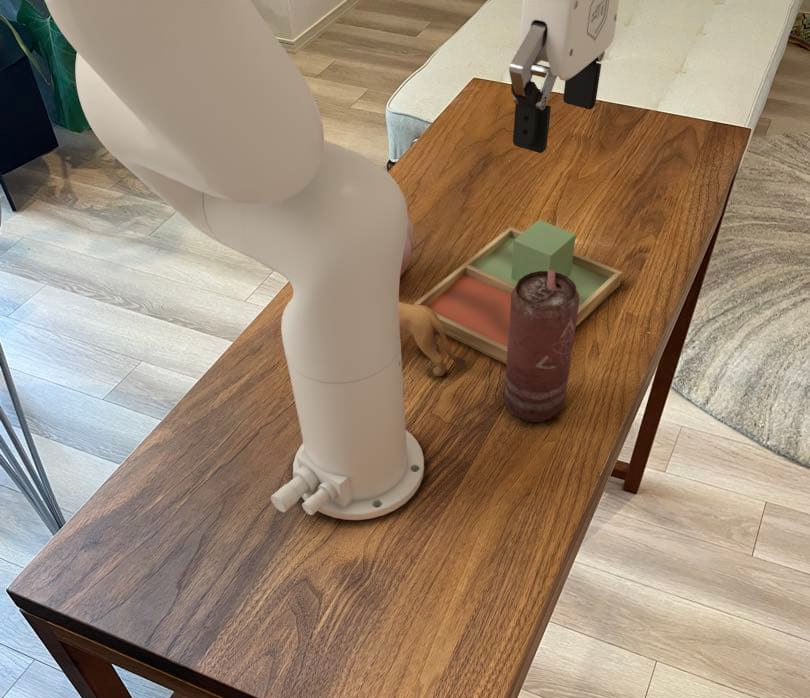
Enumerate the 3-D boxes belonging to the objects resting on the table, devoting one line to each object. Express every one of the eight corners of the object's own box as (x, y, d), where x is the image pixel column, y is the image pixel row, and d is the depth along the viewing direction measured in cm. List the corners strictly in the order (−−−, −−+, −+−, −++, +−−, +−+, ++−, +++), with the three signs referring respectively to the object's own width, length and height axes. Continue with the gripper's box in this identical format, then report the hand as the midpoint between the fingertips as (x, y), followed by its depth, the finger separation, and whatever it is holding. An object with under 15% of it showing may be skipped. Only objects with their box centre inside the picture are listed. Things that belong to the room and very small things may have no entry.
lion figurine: (329, 358, 91) (319, 289, 83) (346, 328, 94) (337, 258, 86) (459, 382, 87) (460, 312, 80) (472, 350, 90) (474, 279, 83)
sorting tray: (526, 374, 88) (527, 361, 86) (412, 318, 94) (411, 305, 93) (620, 285, 96) (622, 271, 95) (509, 239, 103) (510, 226, 101)
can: (563, 382, 87) (579, 266, 76) (563, 425, 83) (581, 310, 72) (504, 380, 87) (512, 264, 76) (502, 423, 84) (511, 308, 72)
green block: (546, 294, 94) (551, 255, 90) (510, 278, 97) (513, 239, 93) (571, 272, 97) (576, 234, 93) (535, 257, 99) (538, 219, 95)
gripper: (571, -54, 59) (546, 177, 72) (670, -119, 68) (631, 99, 81) (480, -71, 62) (472, 155, 75) (586, -131, 70) (562, 81, 84)
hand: (554, 126), depth 78 cm, fingers open, 9 cm apart
